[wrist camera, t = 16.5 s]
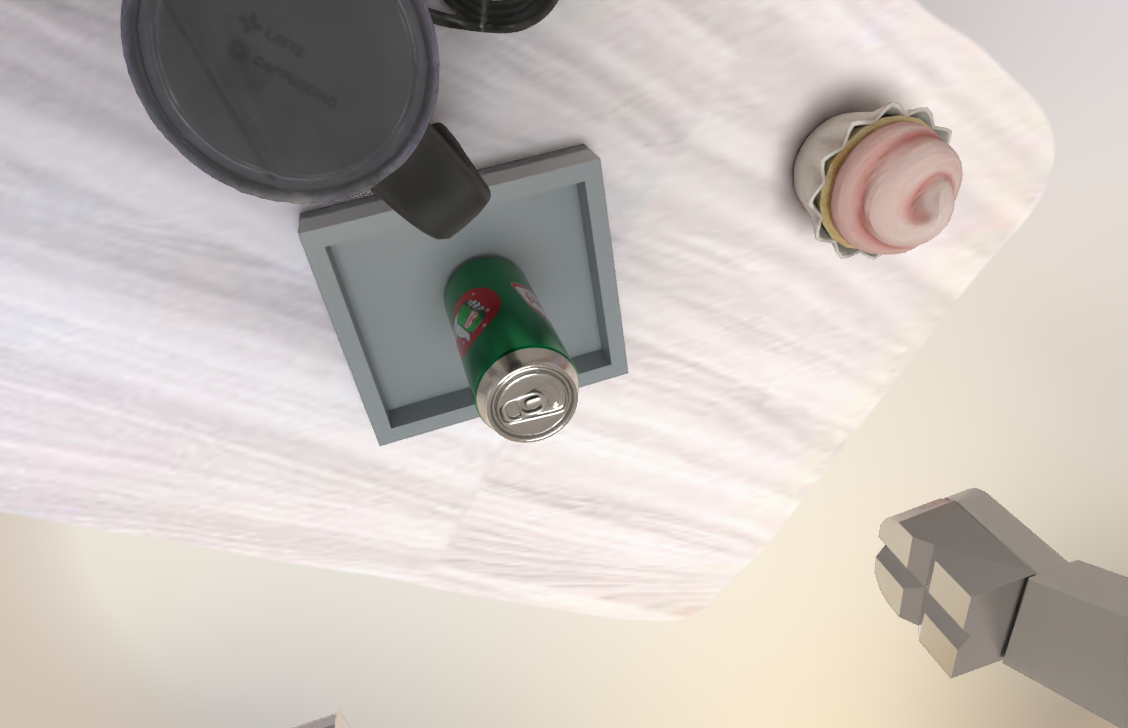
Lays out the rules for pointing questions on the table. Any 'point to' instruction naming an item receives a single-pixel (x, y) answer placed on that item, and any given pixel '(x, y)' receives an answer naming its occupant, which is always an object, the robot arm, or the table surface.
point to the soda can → (510, 351)
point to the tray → (425, 266)
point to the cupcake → (878, 180)
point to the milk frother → (315, 97)
